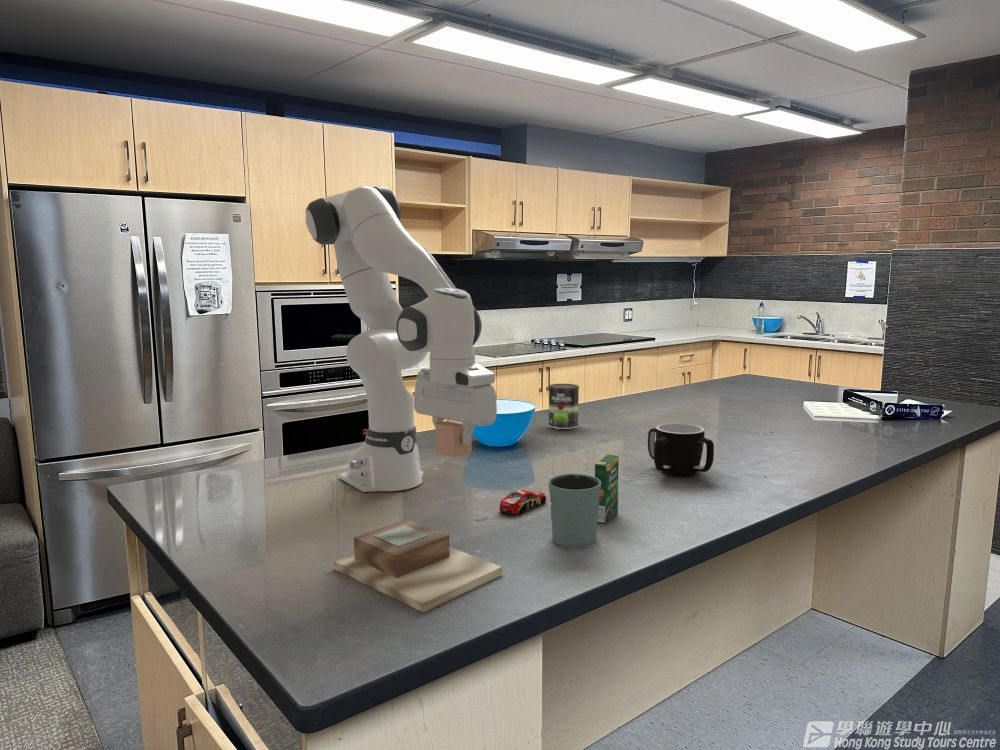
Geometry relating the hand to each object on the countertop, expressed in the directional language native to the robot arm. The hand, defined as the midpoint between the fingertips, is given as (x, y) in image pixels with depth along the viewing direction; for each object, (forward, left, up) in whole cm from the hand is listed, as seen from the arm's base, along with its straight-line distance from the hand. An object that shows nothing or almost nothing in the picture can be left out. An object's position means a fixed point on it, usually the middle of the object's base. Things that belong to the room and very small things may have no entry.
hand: (453, 441), depth 136 cm
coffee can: (-43, +92, -19) cm, 103 cm away
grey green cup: (+20, +13, -19) cm, 31 cm away
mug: (+13, +68, -19) cm, 72 cm away
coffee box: (+18, +27, -19) cm, 38 cm away
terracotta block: (0, 0, -2) cm, 2 cm away
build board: (+8, -17, -19) cm, 27 cm away
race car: (0, +21, -20) cm, 29 cm away
